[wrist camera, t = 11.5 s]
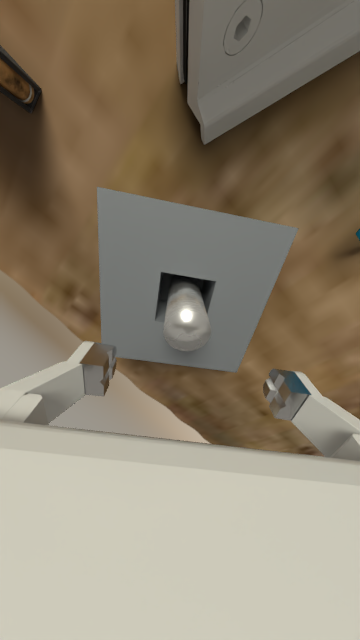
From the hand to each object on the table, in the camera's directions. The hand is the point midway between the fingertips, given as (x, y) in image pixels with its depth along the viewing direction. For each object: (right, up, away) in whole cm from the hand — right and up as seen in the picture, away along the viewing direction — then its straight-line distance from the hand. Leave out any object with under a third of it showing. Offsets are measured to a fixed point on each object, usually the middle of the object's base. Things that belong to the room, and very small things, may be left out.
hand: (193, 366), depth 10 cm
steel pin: (0, +6, +11) cm, 13 cm away
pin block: (0, +7, +12) cm, 13 cm away
